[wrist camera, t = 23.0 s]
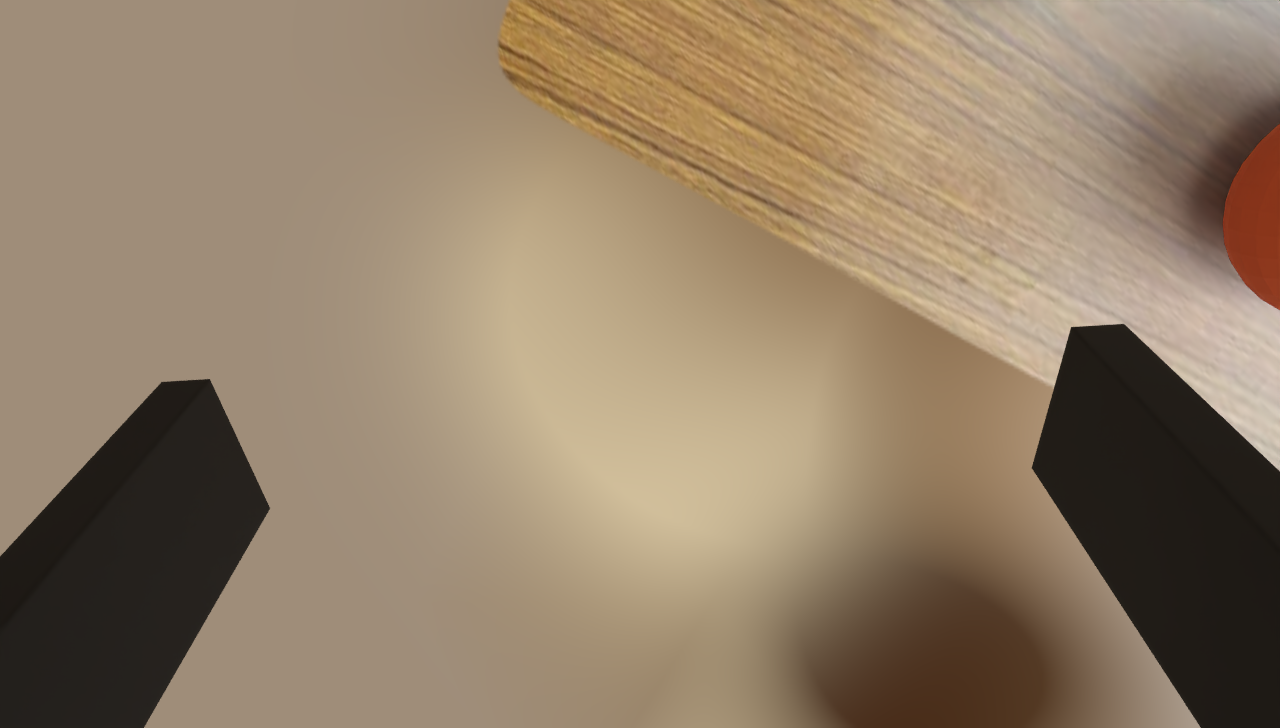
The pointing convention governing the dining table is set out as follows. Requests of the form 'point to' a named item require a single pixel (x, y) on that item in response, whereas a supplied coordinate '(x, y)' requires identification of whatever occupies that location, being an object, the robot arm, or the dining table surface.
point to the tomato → (1256, 220)
